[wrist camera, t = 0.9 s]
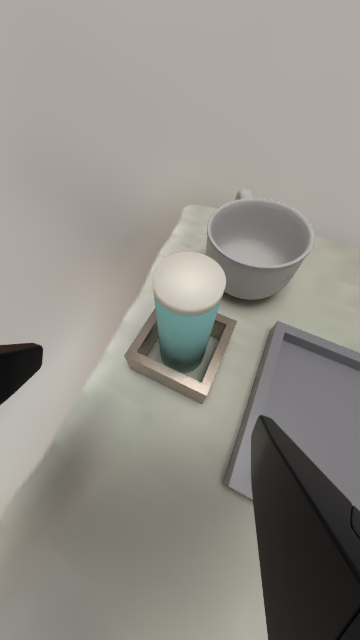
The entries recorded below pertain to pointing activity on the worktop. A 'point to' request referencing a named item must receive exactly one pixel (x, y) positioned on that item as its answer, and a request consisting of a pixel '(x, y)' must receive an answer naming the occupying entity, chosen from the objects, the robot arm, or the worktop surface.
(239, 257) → the teacup
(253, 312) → the worktop surface
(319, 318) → the worktop surface
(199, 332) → the canister
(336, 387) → the tray
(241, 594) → the worktop surface
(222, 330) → the square metallic frame
